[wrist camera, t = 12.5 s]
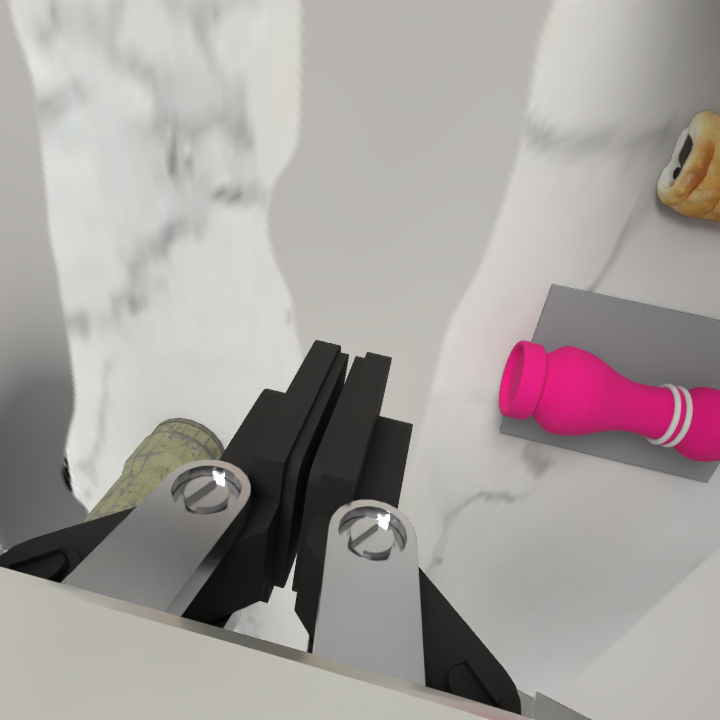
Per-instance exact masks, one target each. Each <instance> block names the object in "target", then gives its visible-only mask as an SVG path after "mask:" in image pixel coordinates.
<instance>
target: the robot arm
mask: <svg viewBox="0 0 720 720" xmlns="http://www.w3.org/2000/svg"><path fill="white" fill-rule="evenodd" d="M348 358H349V355H348V354H345V353H341V346H340V345H336V344H332V343H327V342H323V341H319V340H315V342H314V343H313V345H312V347H311V349H310V351H309V352H308V354H307V356H306V358H305V359H304V361H303V363H302V365H301V367H300V368H299V370H298V372H297V374H296V375H295V377H294V379H293V381H292V383H291V384H290V386H289V388H288V390H287V391H286V393H283V392H279V391H275V390H270V389H264V390H263V392H262V393H261V394H260V396H259V397H258V399H257V401H256V402H255V404H254V405H253V407H252V409H251V410H250V412H249V413H248V415H247V416H246V418H245V420H244V421H243V423H242V424H241V426H240V428H239V429H238V431H237V432H236V434H235V435H234V437H233V439H232V440H231V442H230V443H229V445H228V447H227V448H226V450H225V451H224V453H223V454H222V456H221V458H220V459H219V460H199V461H194V462H190V463H187V464H185V465H182V466H180V467H178V468H177V469H176V470H174V471H173V472H172V473H170V474H169V475H168V476H167V477H166V478H165V479H164V480H163V481H162V482H161V483H160V484H159V485H158V486H157V487H156V488H155V489H154V490H153V491H152V492H151V493H150V494H149V495H148V496H147V497H146V498H145V499H144V500H143V501H142V502H141V503H140V504H139V505H138V506H136V507H133V508H130V509H126V510H123V511H120V512H117V513H114V514H110V515H107V516H104V517H101V518H97V519H94V520H91V521H88V522H84V523H81V524H78V525H75V526H72V527H68V528H65V529H62V530H59V531H55V532H52V533H49V534H46V535H42V536H40V537H36V538H33V539H30V540H28V541H25V542H23V543H20V544H18V545H16V546H14V547H12V548H11V549H9V550H2V546H1V543H0V720H591V719H589V718H587V717H585V716H583V715H581V714H580V713H577V712H576V711H574V710H572V709H570V708H568V707H566V706H564V705H562V704H560V703H558V702H556V701H554V700H552V699H550V698H548V697H546V696H544V695H542V694H541V693H539V692H536V694H535V696H534V698H533V697H531V696H529V695H527V694H525V693H523V692H521V691H519V690H517V689H516V686H515V684H514V682H513V681H512V679H511V678H510V676H509V675H508V673H507V672H506V670H505V669H504V668H503V667H502V665H501V664H500V663H499V662H498V661H497V659H496V658H495V657H494V656H493V655H492V654H491V652H490V651H489V650H488V649H487V648H486V646H485V645H484V644H483V643H482V642H481V640H480V639H479V638H478V637H477V636H476V634H475V633H474V632H473V631H472V630H471V628H470V627H469V626H468V625H467V624H466V622H465V621H464V620H463V619H462V618H461V617H460V615H459V614H458V613H457V612H456V611H455V609H454V608H453V607H452V606H451V605H450V603H449V602H448V601H447V600H446V599H445V597H444V596H443V595H442V594H441V593H440V591H439V590H438V589H437V588H436V587H435V585H434V584H433V583H432V582H431V581H430V580H429V578H428V577H427V576H426V575H425V574H424V572H423V571H422V570H421V569H420V568H419V566H418V552H417V538H416V534H415V530H414V527H413V525H412V524H411V522H410V521H409V519H408V518H407V517H406V516H405V515H404V514H403V513H402V512H400V511H399V510H398V503H399V498H400V492H401V487H402V482H403V476H404V470H405V465H406V459H407V454H408V449H409V443H410V438H411V432H412V426H413V425H412V424H410V423H406V422H402V421H398V420H394V419H390V418H385V417H381V416H379V415H380V410H381V406H382V401H383V397H384V392H385V388H386V383H387V378H388V374H389V369H390V365H391V359H392V358H391V357H387V356H382V355H379V354H374V353H370V352H367V354H366V356H365V358H362V357H358V356H356V357H355V359H354V362H353V365H352V367H351V369H350V372H349V374H348V377H347V379H346V382H345V376H346V370H347V364H348ZM344 382H345V384H344ZM296 554H297V558H296V565H295V572H294V579H293V585H292V591H295V592H297V597H296V603H295V612H296V614H297V615H298V617H299V619H300V620H301V622H302V624H303V625H304V627H305V629H306V630H307V632H308V634H309V637H308V642H307V649H306V652H304V651H300V650H297V649H293V648H290V647H286V646H282V645H279V644H275V643H272V642H268V641H265V640H261V639H258V638H254V637H251V636H247V635H244V634H240V633H236V632H233V629H234V628H235V626H236V625H237V622H238V620H239V617H240V615H241V609H243V608H245V607H247V606H249V605H252V604H254V603H256V602H258V601H262V602H266V603H268V601H269V598H270V596H271V593H272V590H273V588H274V586H277V587H281V588H284V586H285V584H286V582H287V579H288V576H289V574H290V571H291V568H292V565H293V563H294V560H295V557H296Z"/></svg>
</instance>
